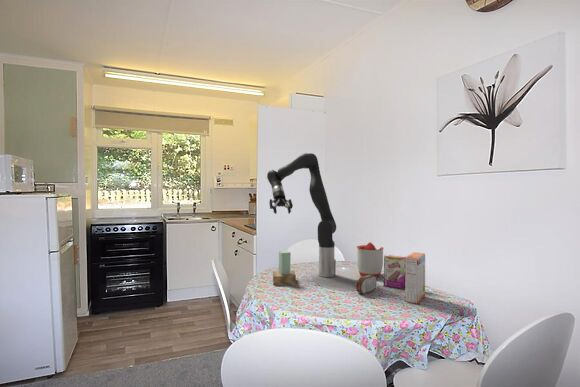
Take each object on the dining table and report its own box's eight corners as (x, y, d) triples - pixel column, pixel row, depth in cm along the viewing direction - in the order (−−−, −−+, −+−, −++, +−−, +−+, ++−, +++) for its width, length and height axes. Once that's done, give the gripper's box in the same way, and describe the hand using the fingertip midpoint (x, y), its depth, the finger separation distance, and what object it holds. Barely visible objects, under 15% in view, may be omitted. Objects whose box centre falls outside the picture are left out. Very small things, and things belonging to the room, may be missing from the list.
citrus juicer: (390, 276, 199) (391, 242, 199) (370, 280, 189) (371, 245, 189) (370, 270, 212) (371, 239, 212) (350, 274, 202) (351, 241, 202)
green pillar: (287, 271, 188) (287, 250, 188) (290, 274, 184) (290, 252, 183) (278, 272, 187) (279, 251, 186) (281, 274, 182) (281, 253, 181)
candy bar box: (383, 286, 178) (383, 255, 178) (384, 284, 182) (385, 254, 182) (405, 289, 173) (405, 257, 173) (406, 286, 178) (406, 255, 177)
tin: (372, 288, 174) (372, 272, 174) (377, 289, 172) (378, 273, 172) (355, 294, 164) (356, 277, 164) (361, 296, 161) (361, 278, 161)
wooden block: (294, 279, 192) (294, 270, 191) (295, 285, 180) (295, 276, 179) (273, 279, 191) (273, 270, 191) (273, 285, 179) (273, 276, 179)
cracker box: (412, 294, 165) (413, 251, 165) (425, 296, 162) (426, 253, 161) (404, 301, 154) (404, 256, 154) (417, 304, 150) (418, 258, 150)
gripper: (268, 189, 211) (272, 208, 200) (290, 189, 215) (295, 208, 204) (266, 197, 217) (270, 217, 206) (288, 197, 220) (292, 216, 209)
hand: (282, 212), depth 205 cm, fingers open, 8 cm apart
